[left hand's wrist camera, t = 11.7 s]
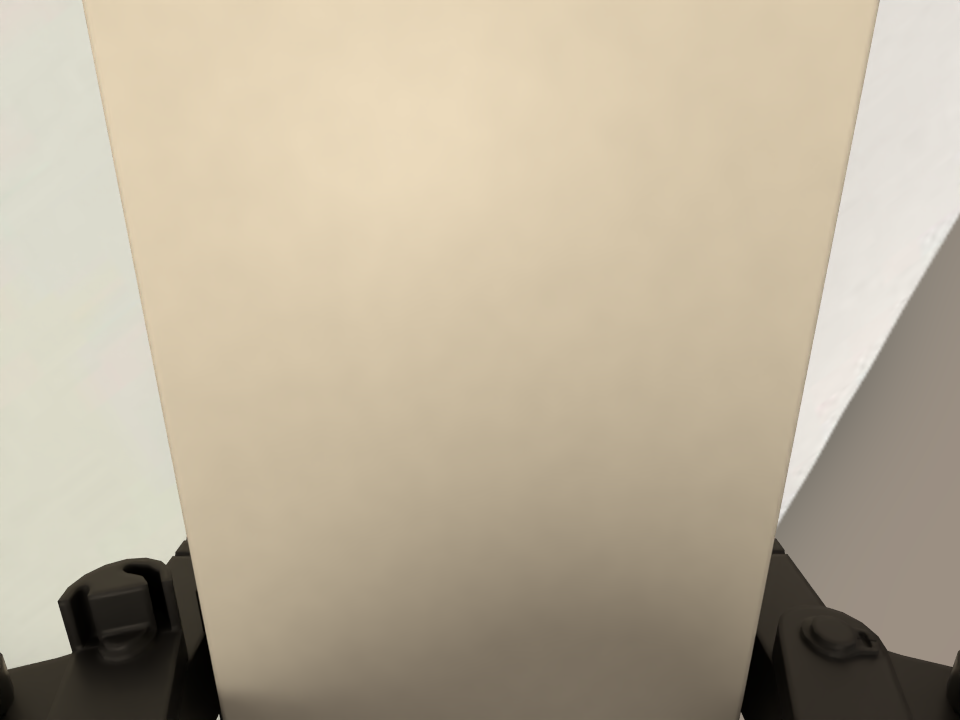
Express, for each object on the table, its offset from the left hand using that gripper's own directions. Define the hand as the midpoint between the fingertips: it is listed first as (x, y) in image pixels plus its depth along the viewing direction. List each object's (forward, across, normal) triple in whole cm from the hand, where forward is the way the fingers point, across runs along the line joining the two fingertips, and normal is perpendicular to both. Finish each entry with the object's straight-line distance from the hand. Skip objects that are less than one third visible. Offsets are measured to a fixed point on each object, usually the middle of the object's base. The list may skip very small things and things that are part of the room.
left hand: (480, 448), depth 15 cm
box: (+1, 0, -7) cm, 7 cm away
